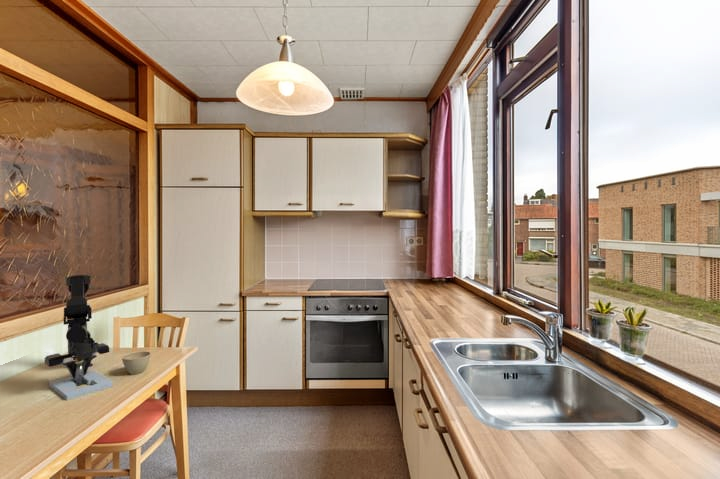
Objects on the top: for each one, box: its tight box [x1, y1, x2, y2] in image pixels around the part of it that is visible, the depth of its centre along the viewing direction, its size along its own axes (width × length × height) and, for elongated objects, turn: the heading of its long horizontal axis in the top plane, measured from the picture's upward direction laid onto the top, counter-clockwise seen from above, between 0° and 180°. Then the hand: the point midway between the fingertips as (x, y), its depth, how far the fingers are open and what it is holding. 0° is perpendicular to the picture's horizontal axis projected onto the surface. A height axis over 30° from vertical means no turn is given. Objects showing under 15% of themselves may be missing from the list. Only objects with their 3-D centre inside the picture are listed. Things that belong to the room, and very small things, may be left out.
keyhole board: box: [49, 369, 114, 401], centre depth 135 cm, size 20×14×2 cm
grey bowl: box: [121, 350, 151, 375], centre depth 148 cm, size 10×10×7 cm
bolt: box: [72, 359, 85, 387], centre depth 136 cm, size 4×4×10 cm
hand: (79, 376), depth 136 cm, fingers closed on bolt, 3 cm apart
